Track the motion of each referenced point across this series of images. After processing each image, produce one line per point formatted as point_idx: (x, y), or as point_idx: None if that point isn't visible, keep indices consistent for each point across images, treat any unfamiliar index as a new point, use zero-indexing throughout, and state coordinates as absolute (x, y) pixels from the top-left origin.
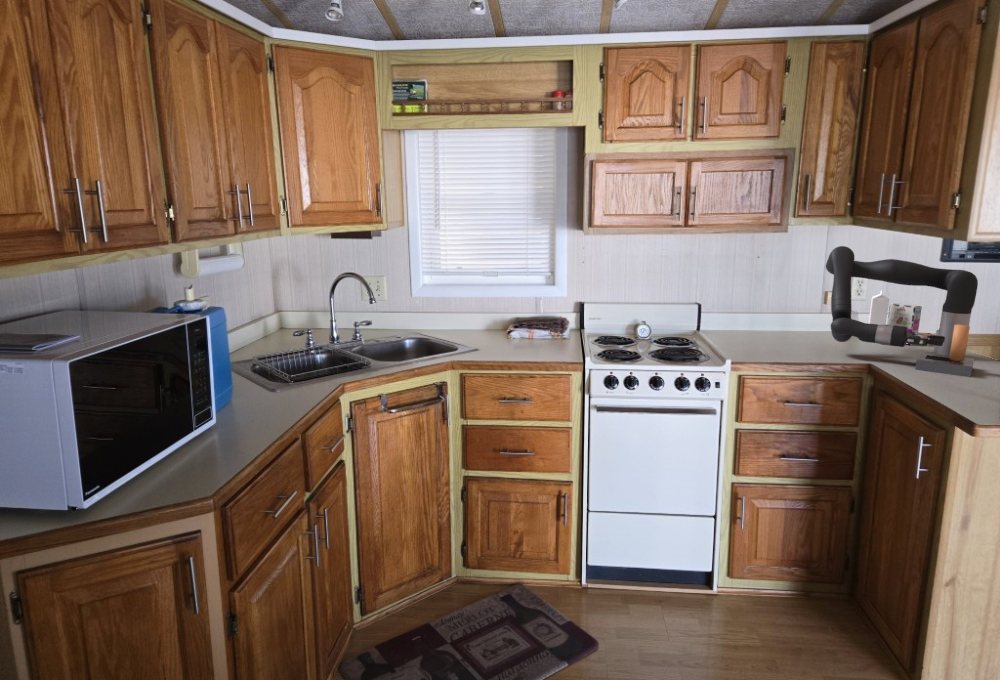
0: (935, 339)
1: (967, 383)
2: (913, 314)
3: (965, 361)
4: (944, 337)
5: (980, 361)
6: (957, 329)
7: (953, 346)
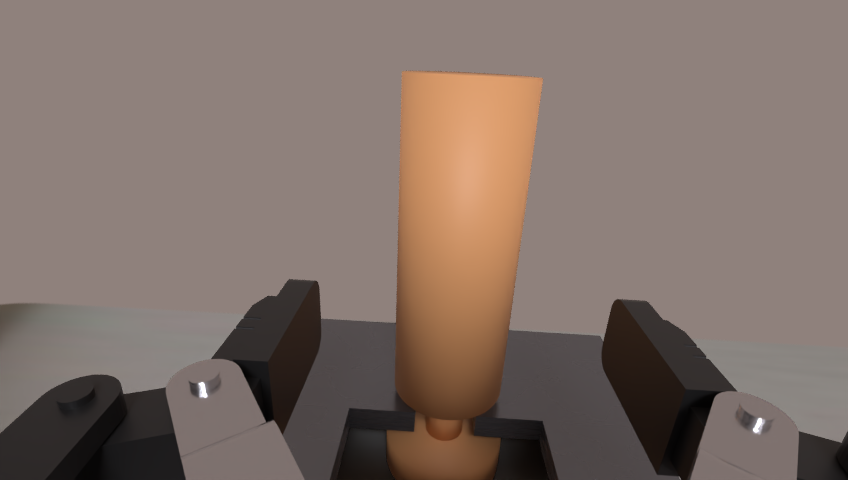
0: (685, 348)
1: (808, 410)
2: None
3: None
4: (317, 287)
5: (32, 333)
6: (534, 121)
7: (504, 303)
